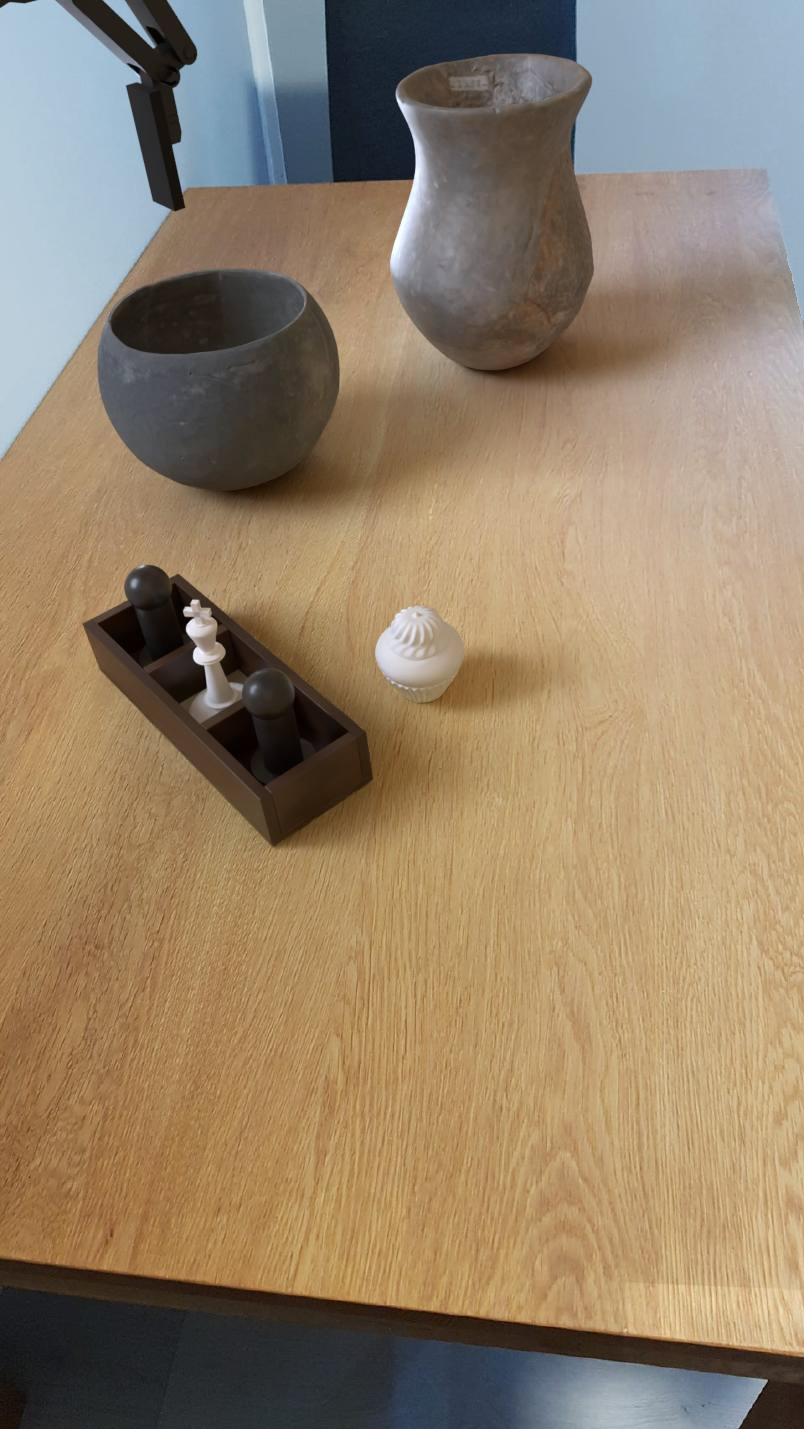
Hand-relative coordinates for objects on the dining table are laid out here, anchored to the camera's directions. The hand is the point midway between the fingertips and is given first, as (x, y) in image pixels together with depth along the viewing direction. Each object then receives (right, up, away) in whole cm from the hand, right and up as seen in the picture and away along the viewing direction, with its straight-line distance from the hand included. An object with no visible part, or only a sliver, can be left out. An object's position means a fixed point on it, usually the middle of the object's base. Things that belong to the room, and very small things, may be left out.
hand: (71, 240), depth 64 cm
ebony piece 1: (+3, -25, +15) cm, 29 cm away
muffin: (+21, -26, +12) cm, 36 cm away
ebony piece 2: (+12, -32, +7) cm, 35 cm away
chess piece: (+7, -28, +11) cm, 31 cm away
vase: (+29, +8, +46) cm, 55 cm away
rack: (+7, -29, +11) cm, 32 cm away
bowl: (+5, -6, +35) cm, 35 cm away
